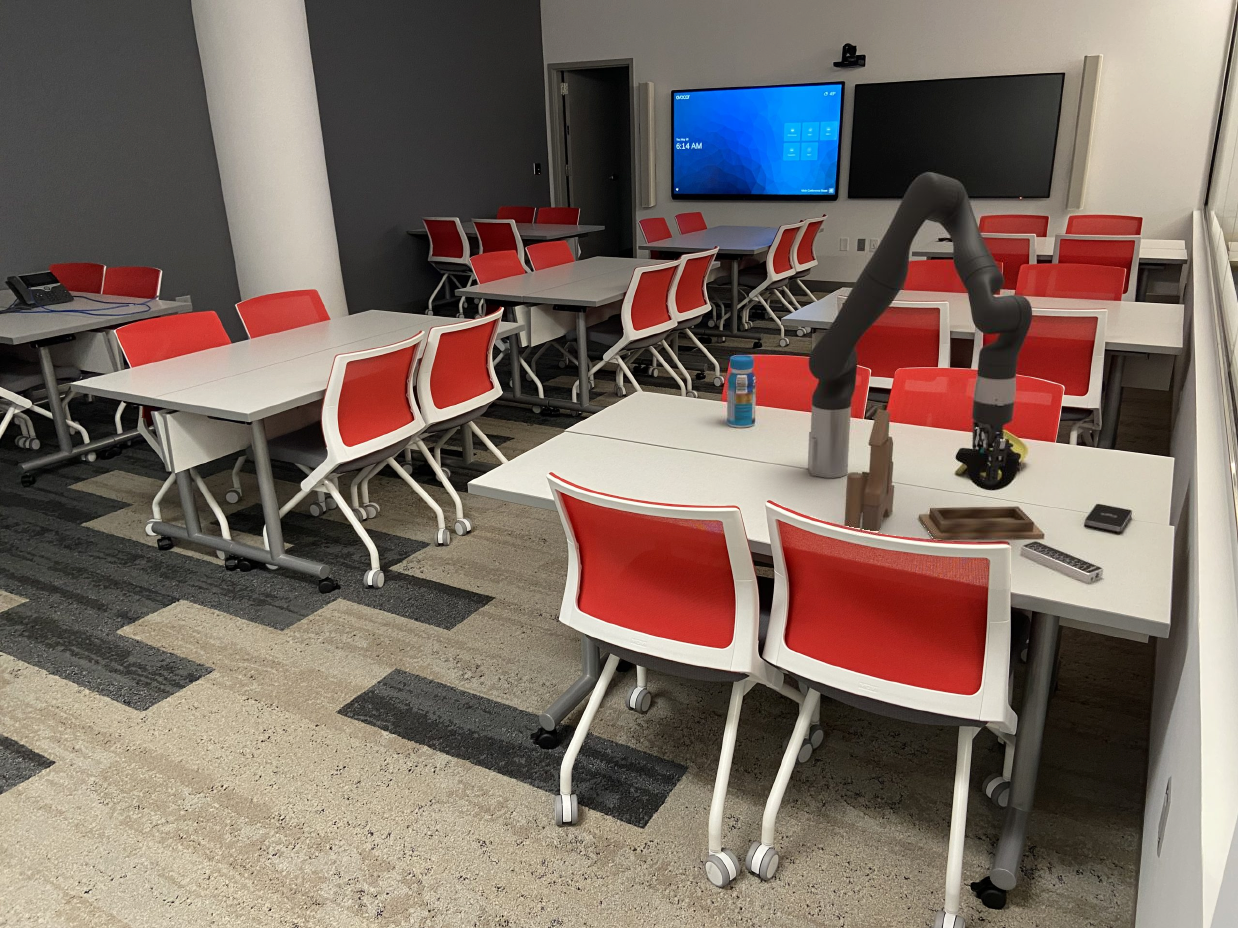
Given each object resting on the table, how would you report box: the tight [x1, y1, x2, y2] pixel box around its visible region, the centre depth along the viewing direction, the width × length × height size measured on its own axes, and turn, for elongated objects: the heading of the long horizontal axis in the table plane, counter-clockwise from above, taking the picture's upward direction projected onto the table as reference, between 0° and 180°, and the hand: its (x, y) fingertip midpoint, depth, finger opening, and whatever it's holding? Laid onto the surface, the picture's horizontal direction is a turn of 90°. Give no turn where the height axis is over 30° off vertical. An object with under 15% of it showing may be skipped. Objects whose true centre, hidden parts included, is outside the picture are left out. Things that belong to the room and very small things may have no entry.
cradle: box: [918, 506, 1045, 541], centre depth 183 cm, size 22×11×3 cm, turn 87°
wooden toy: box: [844, 409, 895, 532], centre depth 185 cm, size 16×7×25 cm, turn 150°
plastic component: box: [954, 429, 1029, 480], centre depth 216 cm, size 20×7×10 cm
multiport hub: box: [1020, 540, 1104, 584], centre depth 166 cm, size 4×14×2 cm, turn 28°
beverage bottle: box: [726, 354, 757, 429], centre depth 254 cm, size 8×8×20 cm
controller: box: [954, 443, 1022, 491], centre depth 179 cm, size 4×12×10 cm, turn 63°
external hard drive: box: [1083, 503, 1133, 535], centre depth 184 cm, size 7×11×2 cm, turn 141°
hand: (985, 477), depth 180 cm, fingers closed on controller, 5 cm apart
